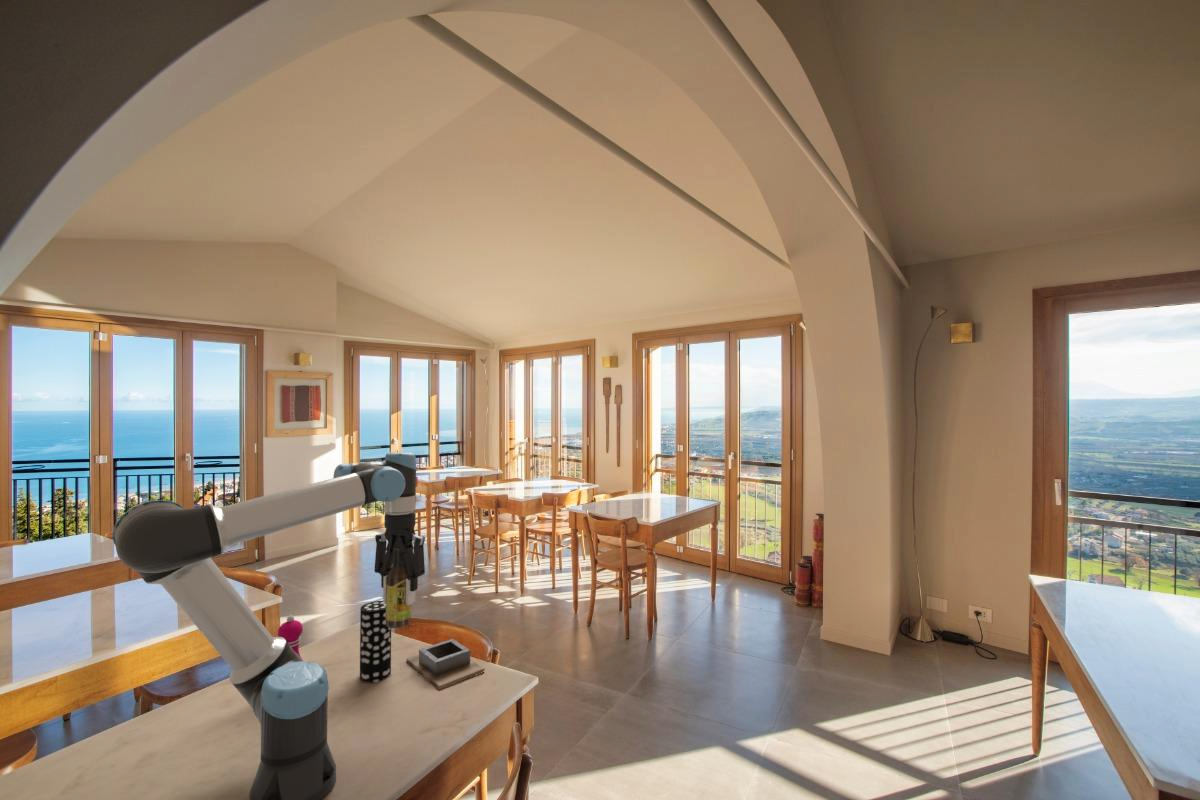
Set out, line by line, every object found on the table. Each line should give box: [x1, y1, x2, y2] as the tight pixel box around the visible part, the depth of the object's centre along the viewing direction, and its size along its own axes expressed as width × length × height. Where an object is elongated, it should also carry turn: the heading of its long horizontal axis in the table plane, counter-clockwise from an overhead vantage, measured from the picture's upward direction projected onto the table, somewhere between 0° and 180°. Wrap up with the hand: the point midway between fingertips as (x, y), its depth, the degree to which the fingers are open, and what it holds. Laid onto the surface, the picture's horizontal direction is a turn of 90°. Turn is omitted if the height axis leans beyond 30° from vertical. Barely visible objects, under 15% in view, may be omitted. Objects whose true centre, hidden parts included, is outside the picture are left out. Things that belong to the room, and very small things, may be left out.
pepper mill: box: [277, 615, 304, 661], centre depth 145 cm, size 7×7×20 cm
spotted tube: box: [359, 600, 392, 684], centre depth 152 cm, size 8×8×20 cm
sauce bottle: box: [386, 547, 413, 629], centre depth 135 cm, size 6×6×20 cm
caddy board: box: [406, 653, 485, 690], centre depth 156 cm, size 22×14×1 cm, turn 43°
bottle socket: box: [418, 638, 471, 677], centre depth 157 cm, size 11×11×4 cm
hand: (399, 601), depth 134 cm, fingers closed on sauce bottle, 6 cm apart
